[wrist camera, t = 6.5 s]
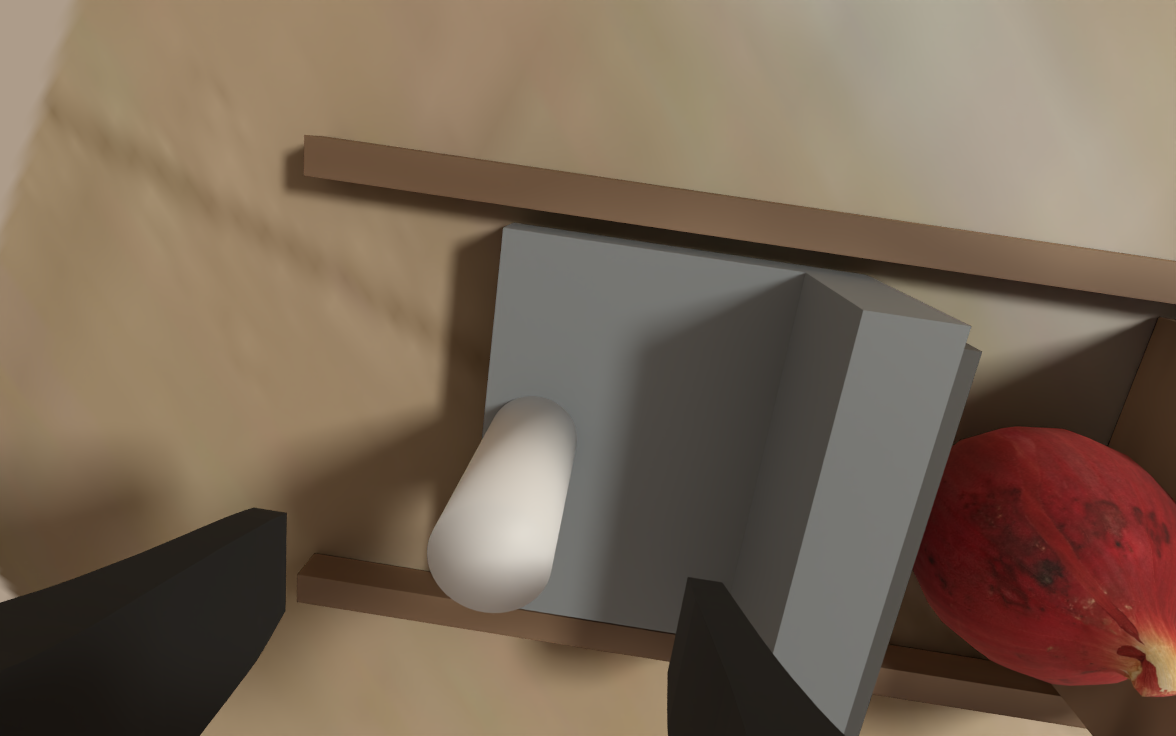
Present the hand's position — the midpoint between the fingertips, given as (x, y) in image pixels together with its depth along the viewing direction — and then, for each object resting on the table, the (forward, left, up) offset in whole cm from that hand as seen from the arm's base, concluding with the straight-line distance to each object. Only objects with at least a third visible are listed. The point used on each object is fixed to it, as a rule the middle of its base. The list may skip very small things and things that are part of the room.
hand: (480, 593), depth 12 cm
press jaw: (0, -3, -9) cm, 9 cm away
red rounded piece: (0, -13, -9) cm, 15 cm away
